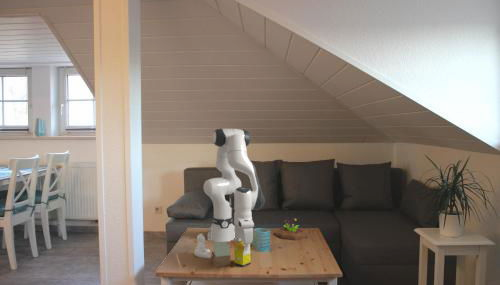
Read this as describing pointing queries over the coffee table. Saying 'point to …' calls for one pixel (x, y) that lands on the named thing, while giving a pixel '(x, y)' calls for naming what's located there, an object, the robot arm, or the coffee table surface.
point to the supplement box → (241, 254)
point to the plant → (291, 231)
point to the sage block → (221, 249)
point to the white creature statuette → (201, 248)
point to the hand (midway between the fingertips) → (242, 247)
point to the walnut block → (220, 260)
